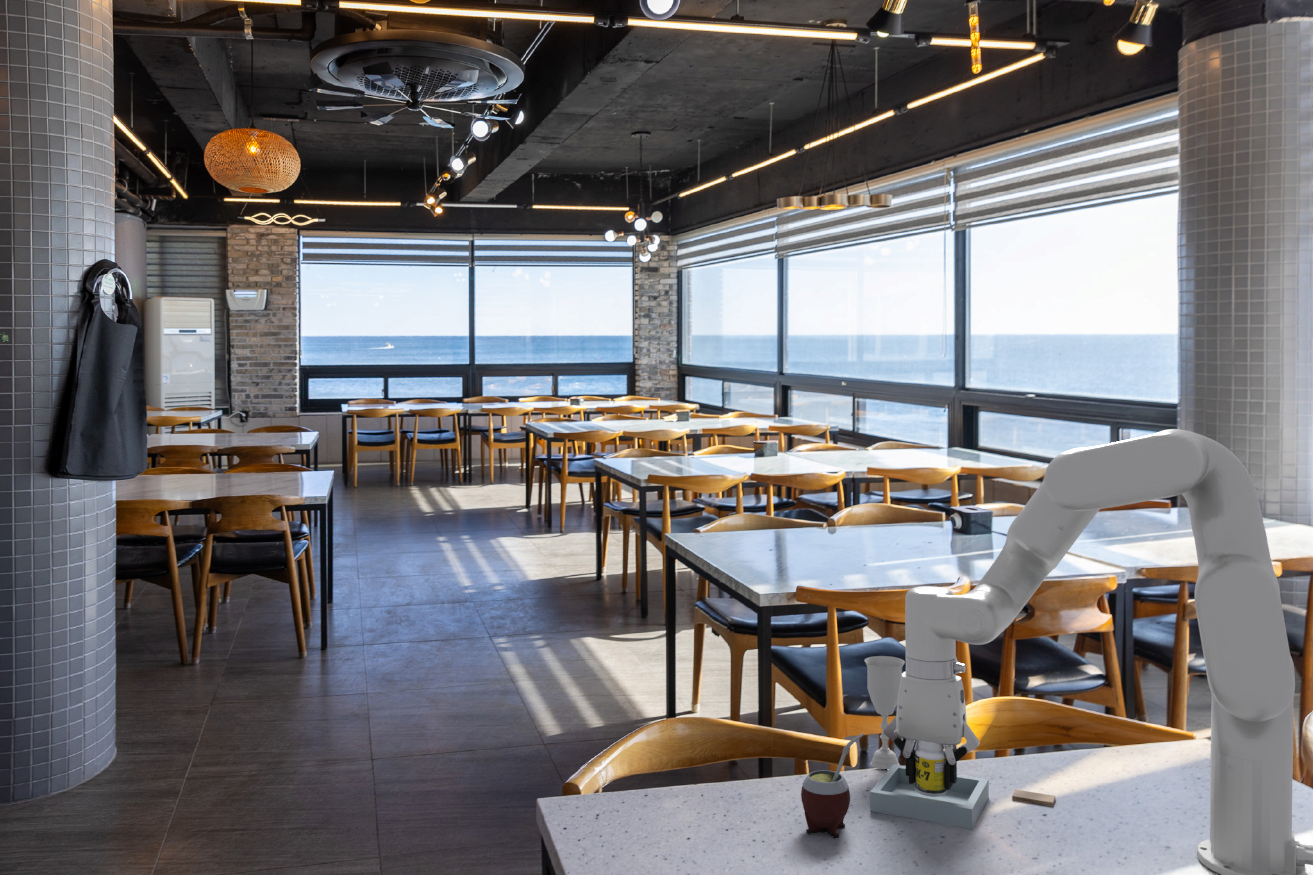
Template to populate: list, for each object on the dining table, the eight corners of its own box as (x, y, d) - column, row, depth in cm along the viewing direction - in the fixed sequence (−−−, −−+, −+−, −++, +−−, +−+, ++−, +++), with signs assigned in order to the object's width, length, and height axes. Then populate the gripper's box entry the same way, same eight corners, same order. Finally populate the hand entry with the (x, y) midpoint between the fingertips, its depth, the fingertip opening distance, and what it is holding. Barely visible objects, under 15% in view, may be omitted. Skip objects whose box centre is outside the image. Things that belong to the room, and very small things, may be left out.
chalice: (906, 773, 173) (905, 667, 173) (864, 770, 175) (864, 665, 174) (904, 758, 180) (904, 656, 180) (864, 756, 182) (864, 655, 181)
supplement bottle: (908, 788, 161) (908, 735, 161) (932, 783, 163) (932, 731, 163) (929, 799, 157) (928, 744, 156) (953, 794, 159) (953, 740, 158)
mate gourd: (793, 824, 153) (792, 725, 153) (839, 816, 156) (838, 718, 155) (818, 844, 146) (817, 740, 146) (866, 835, 149) (865, 733, 148)
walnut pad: (1055, 799, 161) (1055, 795, 161) (1052, 806, 159) (1052, 802, 159) (1015, 793, 164) (1015, 789, 164) (1012, 799, 161) (1012, 795, 161)
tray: (988, 797, 162) (988, 779, 162) (972, 829, 151) (972, 809, 150) (893, 782, 169) (893, 764, 169) (870, 810, 158) (870, 791, 158)
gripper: (991, 667, 158) (992, 784, 159) (883, 656, 166) (883, 767, 167) (982, 679, 152) (982, 801, 152) (869, 667, 160) (870, 783, 160)
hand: (931, 782), depth 160 cm, fingers closed on supplement bottle, 4 cm apart
